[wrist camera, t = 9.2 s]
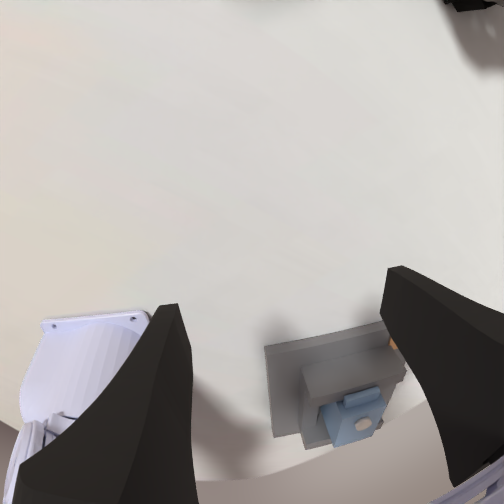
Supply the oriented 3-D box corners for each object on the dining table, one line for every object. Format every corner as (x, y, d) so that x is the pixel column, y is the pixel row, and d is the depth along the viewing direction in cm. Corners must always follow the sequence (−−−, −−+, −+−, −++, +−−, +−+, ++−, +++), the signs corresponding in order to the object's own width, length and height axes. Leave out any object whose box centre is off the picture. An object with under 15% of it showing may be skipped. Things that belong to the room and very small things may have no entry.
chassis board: (272, 430, 31) (279, 462, 27) (264, 346, 24) (274, 389, 20) (383, 402, 32) (396, 429, 28) (414, 311, 25) (439, 343, 21)
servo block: (319, 413, 29) (333, 457, 24) (325, 366, 25) (346, 418, 20) (353, 404, 29) (371, 445, 24) (367, 355, 25) (393, 403, 20)
